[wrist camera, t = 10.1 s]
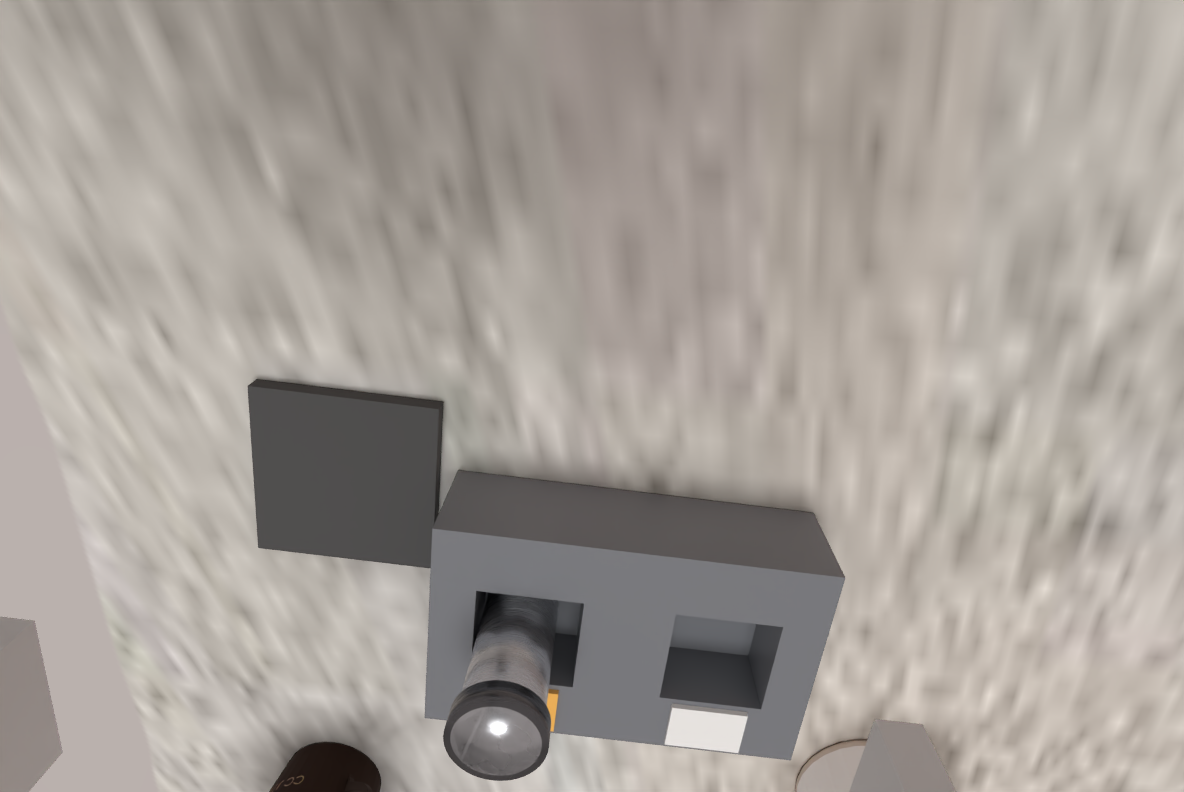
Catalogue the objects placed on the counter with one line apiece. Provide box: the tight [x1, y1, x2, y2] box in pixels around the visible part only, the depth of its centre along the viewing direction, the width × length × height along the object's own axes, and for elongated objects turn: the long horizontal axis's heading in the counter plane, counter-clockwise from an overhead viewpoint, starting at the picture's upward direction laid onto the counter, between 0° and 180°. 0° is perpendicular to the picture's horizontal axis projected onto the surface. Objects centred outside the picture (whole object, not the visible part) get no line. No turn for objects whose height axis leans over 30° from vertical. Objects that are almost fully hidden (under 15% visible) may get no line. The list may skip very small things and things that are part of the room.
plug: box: [443, 592, 559, 781], centre depth 36 cm, size 5×5×10 cm
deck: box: [248, 379, 443, 568], centre depth 40 cm, size 10×10×1 cm
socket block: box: [425, 470, 845, 760], centre depth 39 cm, size 12×20×6 cm, turn 83°
